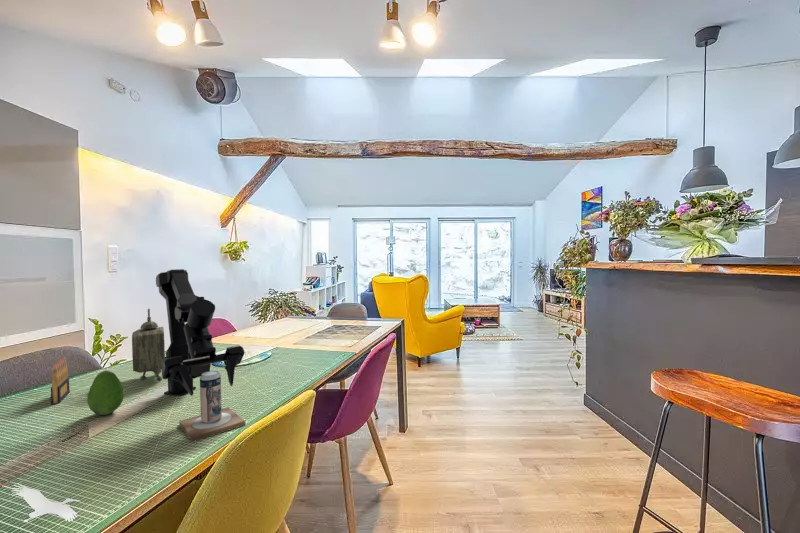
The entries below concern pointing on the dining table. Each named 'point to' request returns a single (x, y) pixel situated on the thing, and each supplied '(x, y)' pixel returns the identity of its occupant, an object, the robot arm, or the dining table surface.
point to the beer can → (210, 396)
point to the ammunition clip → (59, 381)
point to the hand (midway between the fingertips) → (212, 389)
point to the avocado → (105, 393)
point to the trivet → (210, 425)
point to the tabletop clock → (148, 348)
